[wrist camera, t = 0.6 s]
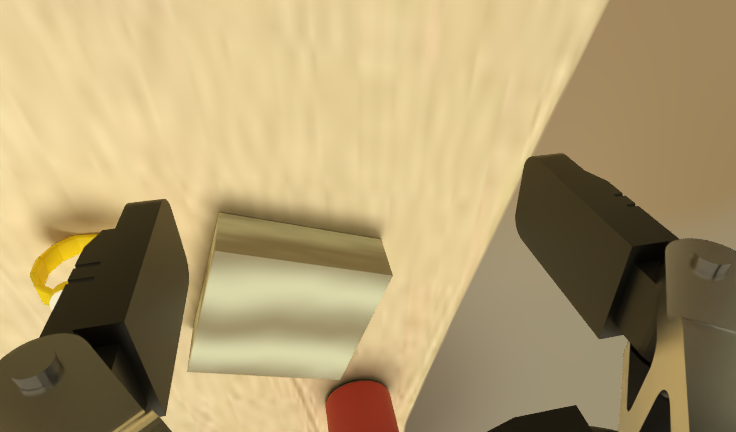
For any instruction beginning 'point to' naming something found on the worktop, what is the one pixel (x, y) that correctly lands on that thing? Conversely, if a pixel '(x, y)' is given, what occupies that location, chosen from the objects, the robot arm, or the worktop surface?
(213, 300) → the block
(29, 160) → the worktop surface
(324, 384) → the worktop surface
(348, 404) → the beer can
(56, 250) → the watch
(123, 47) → the worktop surface
